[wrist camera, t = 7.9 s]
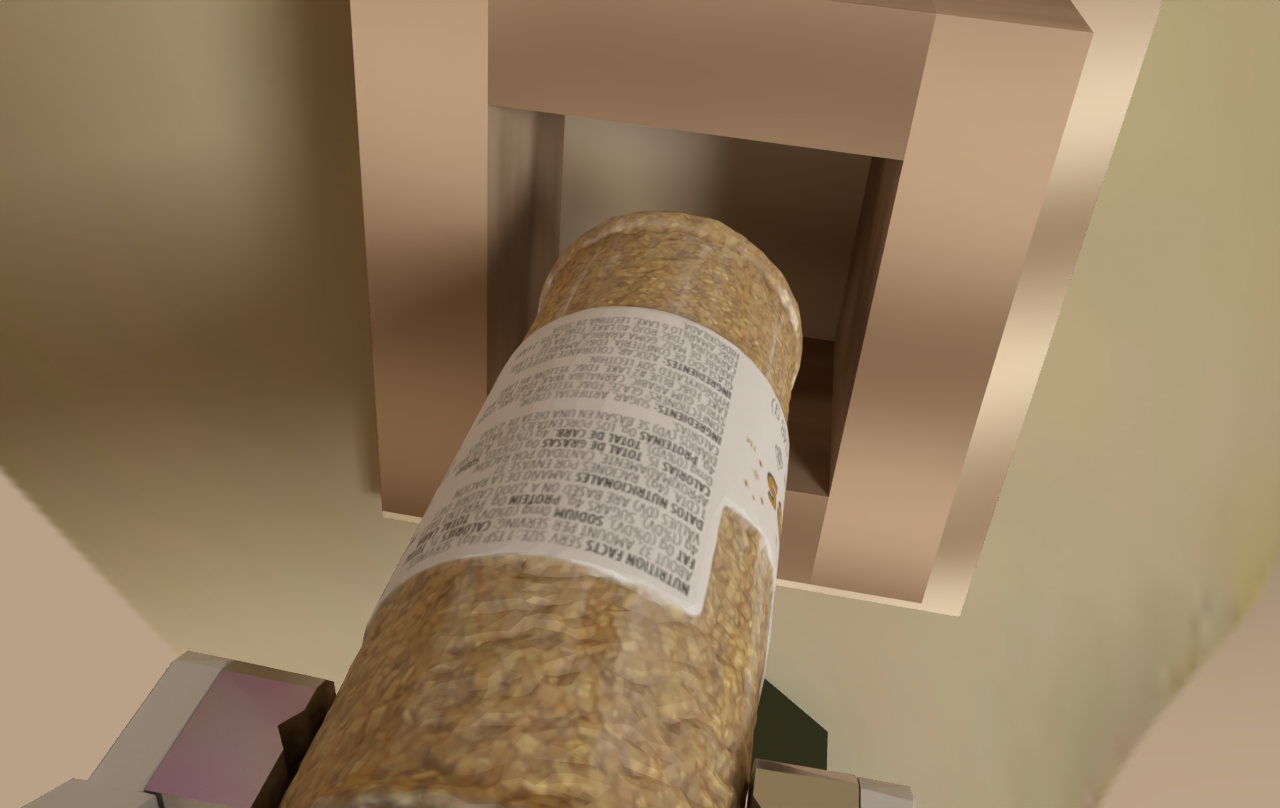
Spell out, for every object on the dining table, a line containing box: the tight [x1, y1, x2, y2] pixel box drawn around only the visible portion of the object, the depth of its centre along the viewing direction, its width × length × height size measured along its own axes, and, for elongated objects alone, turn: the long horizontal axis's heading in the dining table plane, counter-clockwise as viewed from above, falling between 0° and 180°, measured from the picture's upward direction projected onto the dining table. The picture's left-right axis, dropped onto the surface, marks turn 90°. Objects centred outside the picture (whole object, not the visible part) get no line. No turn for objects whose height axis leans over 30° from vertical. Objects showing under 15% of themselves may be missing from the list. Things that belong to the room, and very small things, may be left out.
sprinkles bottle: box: [278, 210, 803, 808], centre depth 13 cm, size 5×5×13 cm
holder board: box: [350, 0, 1163, 617], centre depth 22 cm, size 22×16×8 cm
